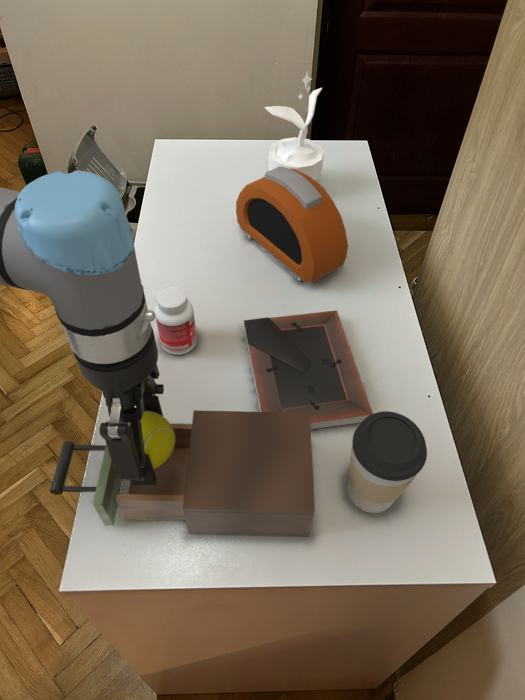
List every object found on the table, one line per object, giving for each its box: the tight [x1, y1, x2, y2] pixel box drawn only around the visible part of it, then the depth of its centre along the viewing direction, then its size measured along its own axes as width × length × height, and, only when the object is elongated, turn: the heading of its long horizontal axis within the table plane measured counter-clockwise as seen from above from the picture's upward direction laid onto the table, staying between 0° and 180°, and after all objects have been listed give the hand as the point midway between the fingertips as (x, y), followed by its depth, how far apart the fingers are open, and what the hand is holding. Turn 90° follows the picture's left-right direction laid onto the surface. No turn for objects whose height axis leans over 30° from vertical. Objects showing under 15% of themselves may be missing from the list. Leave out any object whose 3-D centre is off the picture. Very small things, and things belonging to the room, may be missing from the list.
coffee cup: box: [347, 410, 428, 514], centre depth 69 cm, size 9×9×15 cm
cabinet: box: [183, 409, 316, 538], centre depth 71 cm, size 16×14×9 cm
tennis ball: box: [141, 411, 175, 469], centre depth 64 cm, size 7×7×7 cm
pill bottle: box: [154, 286, 198, 356], centre depth 86 cm, size 6×6×11 cm
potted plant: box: [264, 69, 325, 181], centre depth 108 cm, size 13×12×25 cm
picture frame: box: [243, 309, 374, 430], centre depth 86 cm, size 16×2×22 cm
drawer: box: [49, 422, 192, 527], centre depth 71 cm, size 21×13×7 cm, turn 89°
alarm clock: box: [235, 166, 349, 284], centre depth 99 cm, size 23×9×17 cm, turn 38°
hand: (149, 452), depth 67 cm, fingers closed on tennis ball, 7 cm apart
